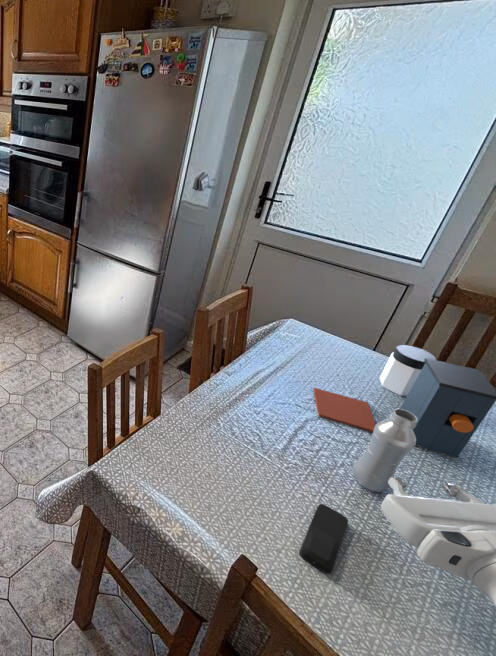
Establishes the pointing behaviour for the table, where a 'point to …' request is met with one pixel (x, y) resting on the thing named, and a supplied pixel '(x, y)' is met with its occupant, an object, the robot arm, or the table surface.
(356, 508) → the table surface
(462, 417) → the tap button
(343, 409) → the mat
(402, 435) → the plastic bottle
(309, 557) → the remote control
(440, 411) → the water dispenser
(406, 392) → the jar
